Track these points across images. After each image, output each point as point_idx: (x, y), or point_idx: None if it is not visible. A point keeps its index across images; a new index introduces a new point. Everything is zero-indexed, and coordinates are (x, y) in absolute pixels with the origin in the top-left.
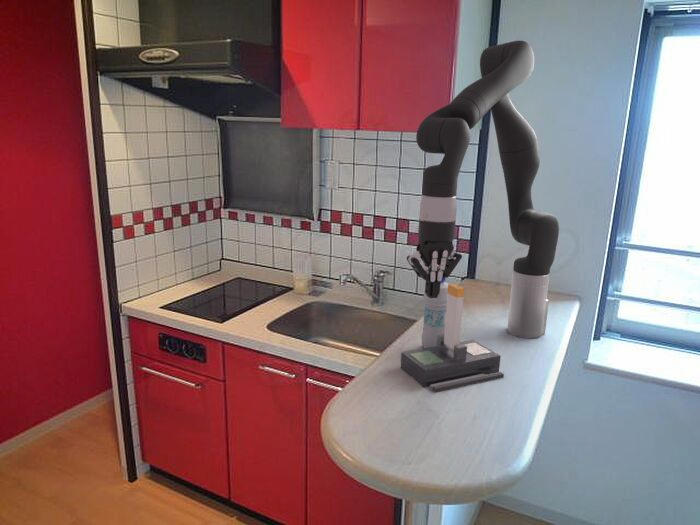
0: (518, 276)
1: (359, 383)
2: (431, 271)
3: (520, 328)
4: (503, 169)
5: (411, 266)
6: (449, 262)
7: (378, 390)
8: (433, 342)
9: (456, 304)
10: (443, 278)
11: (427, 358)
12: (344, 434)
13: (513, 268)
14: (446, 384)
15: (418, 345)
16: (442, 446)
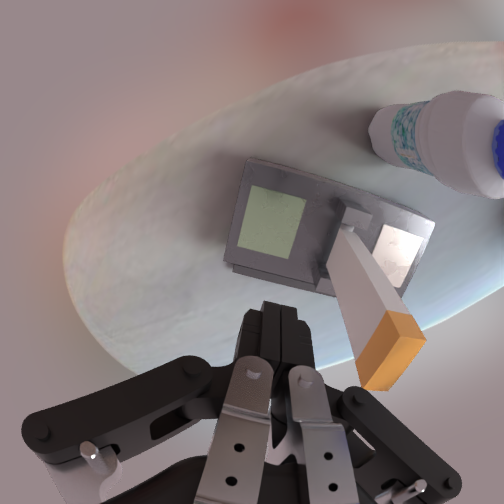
0: None
1: (141, 164)
2: (208, 449)
3: None
4: None
5: (92, 395)
6: (375, 477)
7: (154, 204)
8: (378, 151)
9: (350, 342)
10: None
11: (268, 228)
12: (72, 265)
13: None
14: (261, 274)
15: (375, 100)
16: (152, 344)
